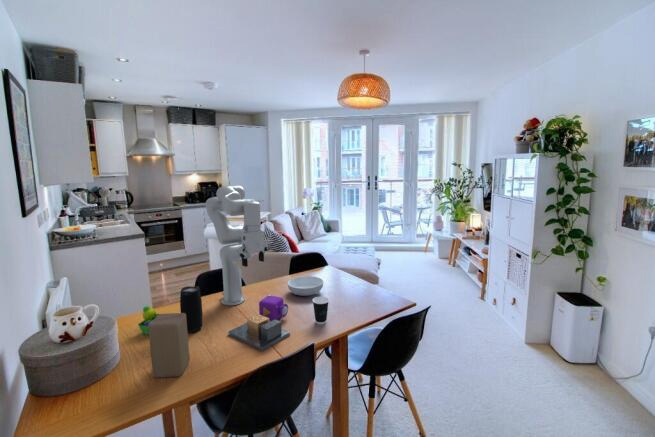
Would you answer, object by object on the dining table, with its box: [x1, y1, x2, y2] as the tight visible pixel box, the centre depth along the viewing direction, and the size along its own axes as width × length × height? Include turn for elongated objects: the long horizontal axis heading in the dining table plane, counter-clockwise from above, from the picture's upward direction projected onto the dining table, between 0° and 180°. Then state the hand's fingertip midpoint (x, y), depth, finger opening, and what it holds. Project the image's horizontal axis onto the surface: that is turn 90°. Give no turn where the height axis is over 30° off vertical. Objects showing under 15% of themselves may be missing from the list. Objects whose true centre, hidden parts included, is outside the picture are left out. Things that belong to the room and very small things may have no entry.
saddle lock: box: [246, 313, 270, 337], centre depth 145 cm, size 7×6×6 cm
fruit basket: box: [137, 305, 160, 335], centre depth 150 cm, size 11×9×11 cm
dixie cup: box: [312, 296, 330, 325], centre depth 156 cm, size 8×8×11 cm
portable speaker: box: [179, 285, 203, 334], centre depth 149 cm, size 9×9×20 cm
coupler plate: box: [228, 319, 291, 352], centre depth 145 cm, size 22×16×8 cm
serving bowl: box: [287, 275, 324, 297], centre depth 193 cm, size 21×21×7 cm
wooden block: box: [148, 312, 191, 378], centre depth 119 cm, size 10×10×20 cm
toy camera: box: [258, 294, 289, 322], centre depth 161 cm, size 11×14×10 cm
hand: (253, 263), depth 155 cm, fingers open, 9 cm apart
